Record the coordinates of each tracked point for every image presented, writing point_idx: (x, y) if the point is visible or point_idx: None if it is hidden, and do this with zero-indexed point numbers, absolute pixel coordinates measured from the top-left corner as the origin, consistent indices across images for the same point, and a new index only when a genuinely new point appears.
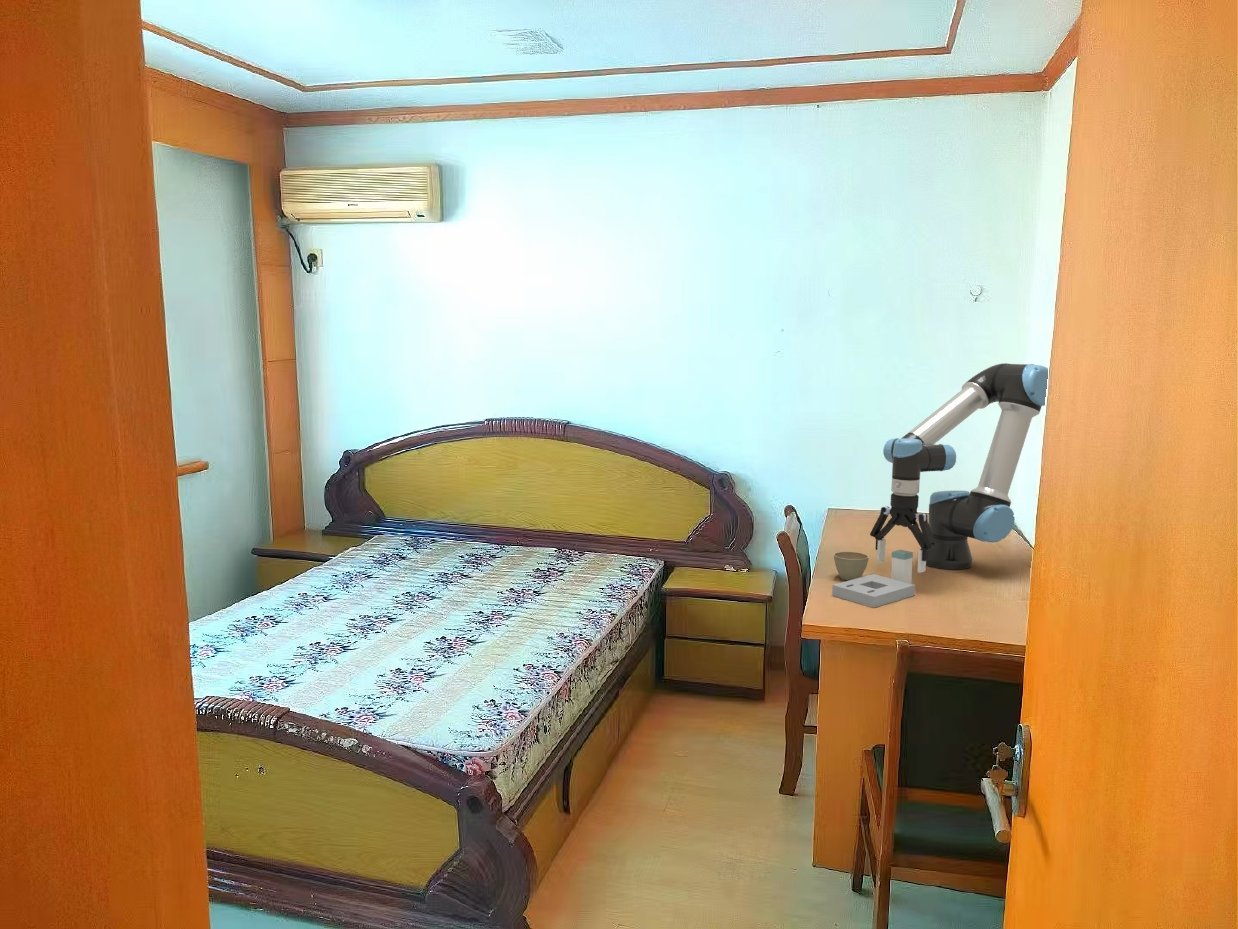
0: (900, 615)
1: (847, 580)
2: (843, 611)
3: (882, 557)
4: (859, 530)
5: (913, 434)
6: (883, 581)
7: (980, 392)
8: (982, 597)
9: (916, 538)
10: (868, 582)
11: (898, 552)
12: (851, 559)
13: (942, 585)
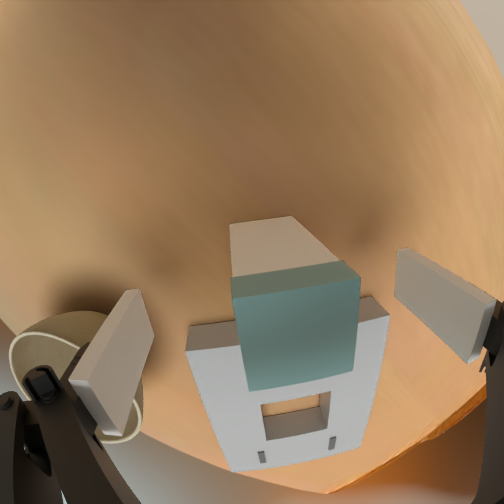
0: (409, 406)
1: None
2: (321, 465)
3: (138, 322)
4: None
5: None
6: None
7: None
8: (479, 132)
9: (492, 419)
10: (261, 413)
11: (293, 372)
12: (132, 437)
13: (352, 96)
